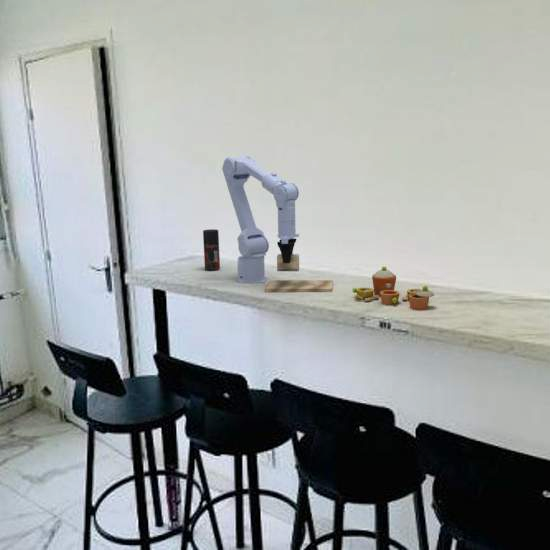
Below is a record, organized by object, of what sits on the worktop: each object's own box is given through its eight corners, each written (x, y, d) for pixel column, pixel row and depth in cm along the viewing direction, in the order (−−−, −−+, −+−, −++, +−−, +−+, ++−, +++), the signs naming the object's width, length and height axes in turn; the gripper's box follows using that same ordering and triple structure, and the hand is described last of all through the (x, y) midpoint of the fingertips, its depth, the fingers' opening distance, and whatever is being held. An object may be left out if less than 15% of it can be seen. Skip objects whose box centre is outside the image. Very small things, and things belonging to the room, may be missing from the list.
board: (264, 291, 197) (264, 288, 197) (269, 283, 209) (269, 280, 209) (332, 292, 194) (332, 288, 194) (333, 283, 206) (333, 280, 206)
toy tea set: (346, 301, 185) (346, 270, 183) (374, 291, 196) (375, 262, 194) (422, 316, 167) (423, 282, 165) (449, 304, 179) (450, 272, 176)
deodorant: (210, 266, 240) (209, 229, 237) (223, 267, 237) (221, 229, 234) (201, 269, 235) (199, 231, 232) (214, 270, 232) (212, 232, 229)
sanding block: (277, 271, 199) (276, 256, 198) (278, 268, 203) (278, 254, 202) (298, 271, 198) (298, 256, 197) (299, 268, 202) (299, 254, 201)
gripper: (296, 224, 190) (297, 266, 193) (300, 218, 204) (301, 257, 207) (274, 224, 191) (275, 266, 194) (279, 218, 205) (280, 257, 208)
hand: (287, 261), depth 200 cm, fingers closed on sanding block, 4 cm apart
